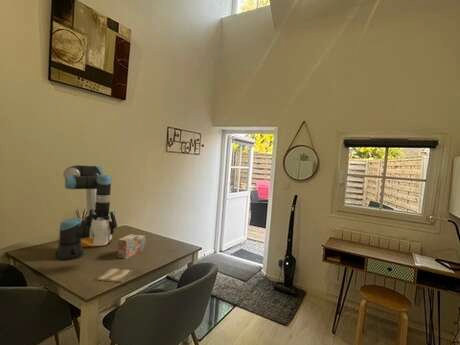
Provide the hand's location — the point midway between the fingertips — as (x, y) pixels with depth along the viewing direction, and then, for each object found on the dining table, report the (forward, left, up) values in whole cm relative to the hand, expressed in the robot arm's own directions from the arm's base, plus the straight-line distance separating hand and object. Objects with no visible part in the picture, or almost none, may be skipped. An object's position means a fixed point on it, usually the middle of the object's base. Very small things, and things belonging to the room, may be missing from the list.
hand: (100, 238), depth 148 cm
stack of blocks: (+10, +24, -17) cm, 31 cm away
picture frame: (+14, -9, -16) cm, 24 cm away
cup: (0, 0, -3) cm, 3 cm away
